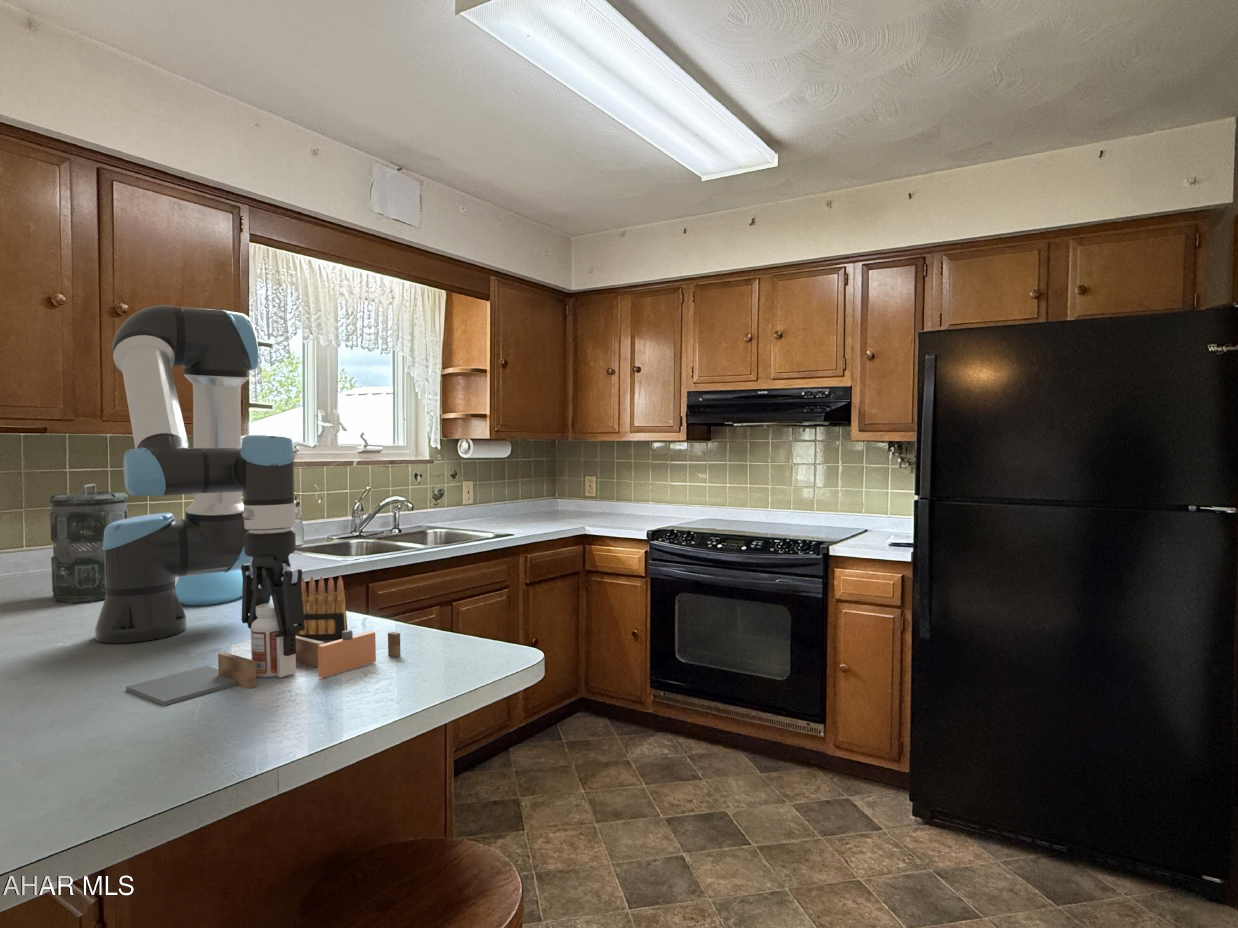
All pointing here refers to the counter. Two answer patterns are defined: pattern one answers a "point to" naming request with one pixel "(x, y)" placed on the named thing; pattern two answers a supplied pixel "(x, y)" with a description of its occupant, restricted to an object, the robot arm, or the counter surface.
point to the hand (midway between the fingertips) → (273, 670)
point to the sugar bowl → (209, 588)
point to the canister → (82, 542)
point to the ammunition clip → (323, 611)
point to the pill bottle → (265, 641)
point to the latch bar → (346, 653)
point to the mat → (182, 685)
